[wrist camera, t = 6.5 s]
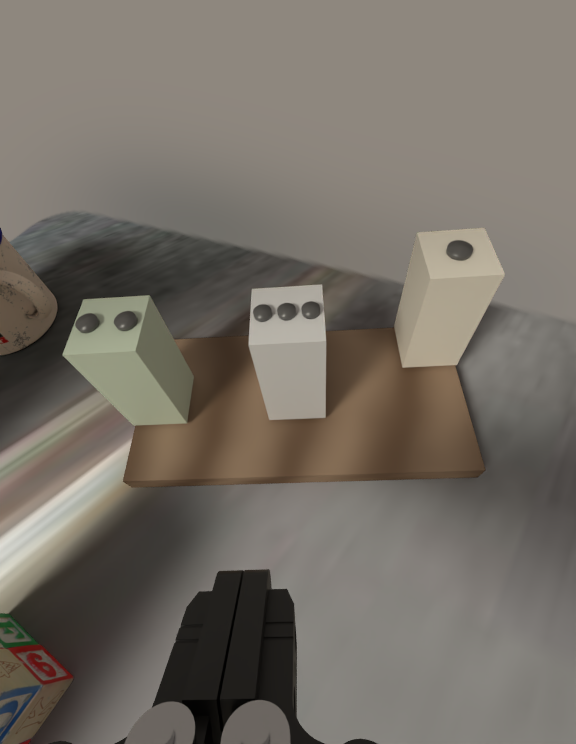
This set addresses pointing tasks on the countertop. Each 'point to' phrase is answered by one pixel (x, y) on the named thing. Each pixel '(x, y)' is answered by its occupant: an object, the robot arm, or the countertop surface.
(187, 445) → the brown wooden board
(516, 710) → the countertop surface
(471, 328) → the one dot key
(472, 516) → the countertop surface
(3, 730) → the stack of blocks
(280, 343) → the three dot key
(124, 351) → the two dot key
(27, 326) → the teacup with lid
